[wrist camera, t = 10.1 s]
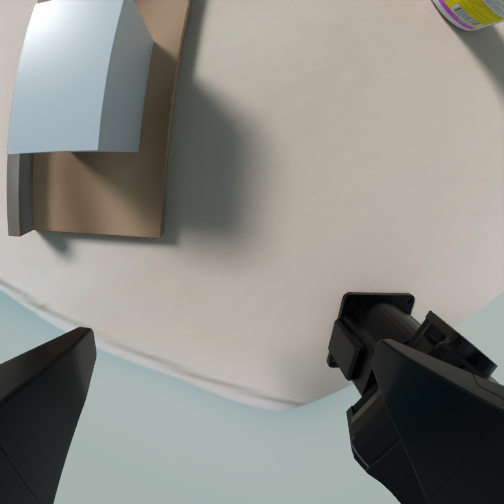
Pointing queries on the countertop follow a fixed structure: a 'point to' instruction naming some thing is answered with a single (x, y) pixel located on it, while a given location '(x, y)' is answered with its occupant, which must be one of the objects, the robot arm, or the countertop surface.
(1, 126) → the countertop surface
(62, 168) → the shelf board
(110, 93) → the carton
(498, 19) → the supplement bottle
